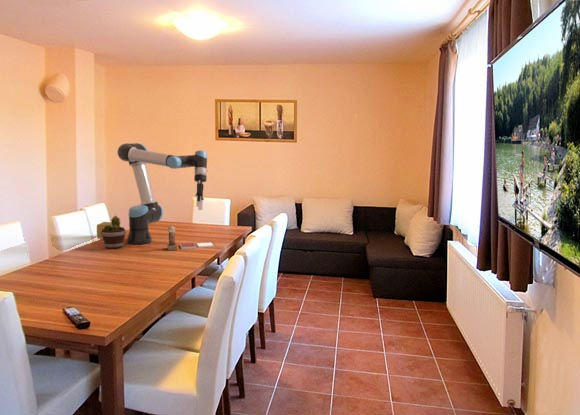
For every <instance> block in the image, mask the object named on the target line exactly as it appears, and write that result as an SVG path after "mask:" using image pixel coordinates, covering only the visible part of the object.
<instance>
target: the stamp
mask: <svg viewBox="0 0 580 415" xmlns="http://www.w3.org/2000/svg"><path fill="white" fill-rule="evenodd" d="M167 232H168V243H167V244H166V245H167V250H168V252H171V251H172V252H174V251H175V252H176V251H177V250H178V245H177V243H176V235H175V234H176V227H175V226H173V225H170V226H168V227H167Z"/></svg>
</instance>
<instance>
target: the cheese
mask: <svg viewBox="0 0 580 415" xmlns="http://www.w3.org/2000/svg"><path fill="white" fill-rule="evenodd" d="M107 225H110V226H111V225H112V221H102V222H101V223H97V224H96V238H97V240H98V239H99V240H104V239H103V236H101V234H100V232H101V231H102V229H104V227H105V226H107ZM112 226H113V225H112ZM112 226H111V227H112Z"/></svg>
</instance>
